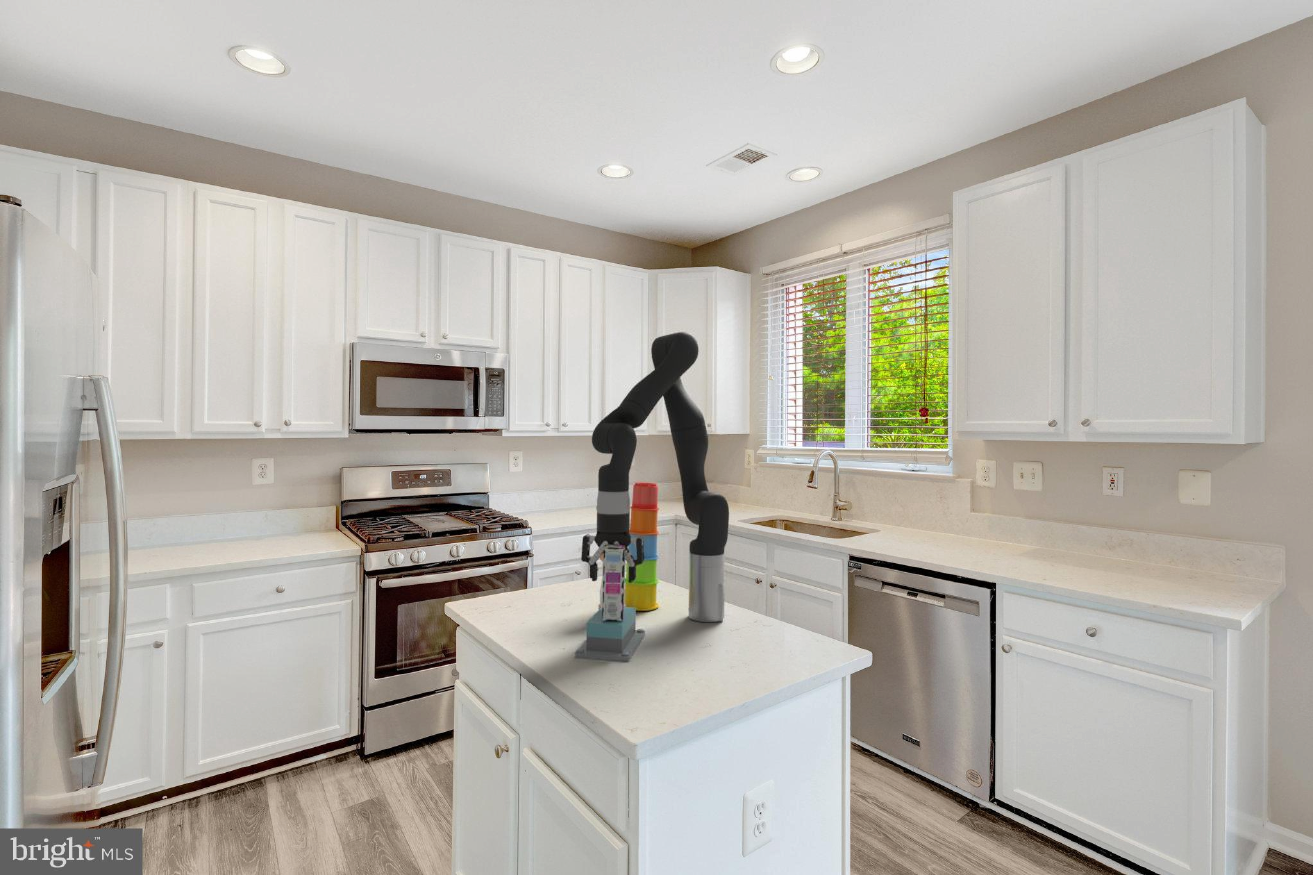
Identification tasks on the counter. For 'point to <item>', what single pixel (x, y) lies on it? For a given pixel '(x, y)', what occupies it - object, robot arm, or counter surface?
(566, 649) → the counter surface
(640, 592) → the stacking cups
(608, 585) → the candy bar box
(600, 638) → the teal gray mounted block
